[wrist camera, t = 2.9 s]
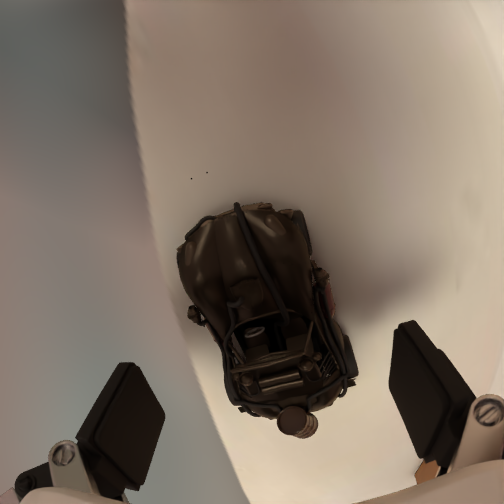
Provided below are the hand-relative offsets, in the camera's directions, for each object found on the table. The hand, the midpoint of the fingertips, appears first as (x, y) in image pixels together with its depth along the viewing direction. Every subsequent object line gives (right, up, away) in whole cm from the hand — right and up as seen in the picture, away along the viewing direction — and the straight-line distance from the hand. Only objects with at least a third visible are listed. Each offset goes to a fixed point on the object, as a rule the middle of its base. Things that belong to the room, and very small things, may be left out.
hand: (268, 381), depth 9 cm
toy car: (0, +2, +3) cm, 4 cm away
